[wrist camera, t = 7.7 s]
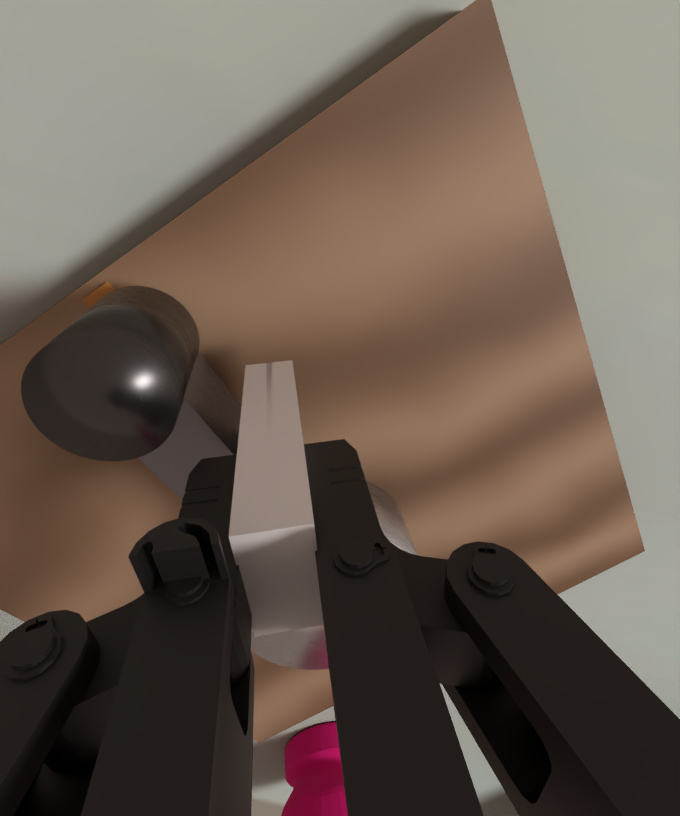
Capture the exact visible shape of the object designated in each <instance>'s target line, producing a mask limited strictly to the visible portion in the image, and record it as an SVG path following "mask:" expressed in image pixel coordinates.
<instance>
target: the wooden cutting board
mask: <svg viewBox="0 0 680 816" xmlns="http://www.w3.org/2000/svg"><path fill="white" fill-rule="evenodd" d="M127 286H145V287H151V288H154V289H158V290H160V291H163V292H165V293H167V294H169V295H170V296H172V297H173V298H175V299H176V300H178V301H179V302H180V303H181V304H182V305H183V306H184V307H185V308H186V309H187V310H188V311H189V313H190V314H191V316H192V317H193V319H194V321H195V323H196V326H197V328H198V332H199V338H200V346H199V352H200V353H201V355H202V356H203V357H204V358H205V360H206V361H207V362H208V363H209V365H210V366H211V367H212V369H213V370H214V371H215V372H216V374H217V375H218V376H219V377H220V379H221V380H222V381H223V382H224V384H225V385H226V386H227V387H228V389H229V390H230V391H231V392H232V394H233V395H234V396H235V398H236V399H237V400H238V401H239V403H240V404H241V405H242V397H243V387H244V377H245V367H246V365H253V364H262V363H271V362H280V361H289V360H292V361H293V368H294V376H295V383H296V391H297V398H298V406H299V413H300V421H301V428H302V436H303V443H304V444H309V443H317V442H324V441H332V440H340V439H345V440H346V441H347V442H348V443H349V444H350V445H351V446H352V447H353V448H355V449H356V450H357V453H358V457H359V460H360V463H361V468H362V469H363V473H364V476H365V480H366V481H368V482H370V483H372V484H375V485H377V486H379V487H380V488H382V489H383V490H384V491H386V492H387V493H388V494H389V495H390V496H391V497H392V498H393V499H394V500H395V502H396V503H397V505H398V507H399V509H400V510H401V513H402V515H403V518H404V520H405V523H406V525H407V528H408V530H409V533H410V535H411V538H412V540H413V542H414V545H415V547H416V550H417V552H418V555H419V556H424V557H432V558H440V559H449V557H450V555H451V553H452V552H453V551H454V550H456V549H457V548H459V547H460V546H462V545H463V544H467V543H472V542H477V541H479V542H488V543H495V544H497V545H500V546H502V547H505V548H507V549H509V550H511V551H512V552H514V553H515V554H516V555H517V556H519V557H520V558H521V559H523V560H524V561H525V562H526V563H527V564H528V565H529V566H530V567H531V568H532V569H533V570H534V571H535V572H536V573H537V574H538V575H539V576H540V577H541V579H542V580H543V581H544V582H545V583H546V584H547V585H548V586H549V587H550V588H551V589H552V590H553V591H554V592H555V593H556V594H559V593H561V592H563V591H565V590H567V589H569V588H571V587H573V586H575V585H577V584H579V583H581V582H583V581H585V580H587V579H589V578H591V577H593V576H595V575H597V574H599V573H601V572H603V571H605V570H607V569H609V568H611V567H613V566H615V565H617V564H619V563H621V562H624V561H626V560H628V559H630V558H632V557H634V556H636V555H638V554H640V553H642V552H644V551H645V550H644V547H643V543H642V539H641V536H640V532H639V529H638V525H637V521H636V518H635V514H634V511H633V507H632V504H631V500H630V496H629V493H628V489H627V486H626V482H625V478H624V475H623V471H622V468H621V464H620V461H619V457H618V453H617V450H616V446H615V443H614V439H613V435H612V432H611V428H610V425H609V421H608V417H607V414H606V410H605V407H604V403H603V400H602V396H601V392H600V389H599V385H598V382H597V378H596V374H595V371H594V367H593V364H592V360H591V357H590V353H589V349H588V346H587V342H586V339H585V335H584V331H583V328H582V324H581V321H580V317H579V314H578V310H577V306H576V303H575V299H574V296H573V292H572V288H571V285H570V281H569V278H568V274H567V271H566V267H565V263H564V260H563V256H562V253H561V249H560V245H559V242H558V238H557V235H556V231H555V228H554V224H553V220H552V217H551V213H550V210H549V206H548V202H547V199H546V195H545V192H544V188H543V185H542V181H541V177H540V174H539V170H538V167H537V163H536V159H535V156H534V152H533V149H532V145H531V142H530V138H529V134H528V131H527V127H526V124H525V120H524V116H523V113H522V109H521V106H520V102H519V98H518V95H517V91H516V88H515V84H514V81H513V77H512V73H511V70H510V66H509V63H508V59H507V55H506V52H505V48H504V45H503V41H502V38H501V34H500V30H499V27H498V23H497V20H496V16H495V12H494V9H493V5H492V2H491V0H476V1H474V2H473V3H472V4H470V5H469V6H468V7H466V8H465V9H463V10H462V11H461V12H459V13H458V14H456V15H455V16H454V17H452V18H451V19H450V20H448V21H447V22H445V23H444V24H443V25H441V26H440V27H439V28H437V29H436V30H434V31H433V32H432V33H430V34H429V35H427V36H426V37H425V38H423V39H422V40H421V41H419V42H418V43H416V44H415V45H414V46H412V47H411V48H409V49H408V50H407V51H405V52H404V53H403V54H401V55H400V56H398V57H397V58H396V59H394V60H393V61H392V62H390V63H389V64H387V65H386V66H385V67H383V68H382V69H380V70H379V71H378V72H376V73H375V74H374V75H372V76H371V77H369V78H368V79H367V80H365V81H364V82H363V83H361V84H360V85H358V86H357V87H356V88H354V89H353V90H351V91H350V92H349V93H347V94H346V95H345V96H343V97H342V98H340V99H339V100H338V101H336V102H335V103H334V104H332V105H331V106H329V107H328V108H327V109H325V110H324V111H322V112H321V113H320V114H318V115H317V116H316V117H314V118H313V119H311V120H310V121H309V122H307V123H306V124H304V125H303V126H302V127H300V128H299V129H298V130H296V131H295V132H293V133H292V134H291V135H289V136H288V137H287V138H285V139H284V140H282V141H281V142H280V143H278V144H277V145H275V146H274V147H273V148H271V149H270V150H269V151H267V152H266V153H264V154H263V155H262V156H260V157H259V158H258V159H256V160H255V161H253V162H252V163H251V164H249V165H248V166H246V167H245V168H244V169H242V170H241V171H240V172H238V173H237V174H235V175H234V176H233V177H231V178H230V179H229V180H227V181H226V182H224V183H223V184H222V185H220V186H219V187H217V188H216V189H215V190H213V191H212V192H211V193H209V194H208V195H206V196H205V197H204V198H202V199H201V200H199V201H198V202H197V203H195V204H194V205H193V206H191V207H190V208H188V209H187V210H186V211H184V212H183V213H182V214H180V215H179V216H177V217H176V218H175V219H173V220H172V221H170V222H169V223H168V224H166V225H165V226H164V227H162V228H161V229H159V230H158V231H157V232H155V233H154V234H153V235H151V236H150V237H148V238H147V239H146V240H144V241H143V242H141V243H140V244H139V245H137V246H136V247H135V248H133V249H132V250H130V251H129V252H128V253H126V254H125V255H124V256H122V257H121V258H119V259H118V260H117V261H115V262H114V263H112V264H111V265H110V266H108V267H107V268H106V269H104V270H103V271H101V272H100V273H99V274H97V275H96V276H94V277H93V278H92V279H90V280H89V281H88V282H86V283H85V284H83V285H82V286H81V287H79V288H78V289H77V290H75V291H74V292H72V293H71V294H70V295H68V296H67V297H65V298H64V299H63V300H61V301H60V302H59V303H57V304H56V305H54V306H53V307H52V308H50V309H49V310H48V311H46V312H45V313H43V314H42V315H41V316H39V317H38V318H36V319H35V320H34V321H32V322H31V323H30V324H28V325H27V326H25V327H24V328H23V329H21V330H20V331H19V332H17V333H16V334H14V335H13V336H12V337H10V338H9V339H7V340H6V341H5V342H3V343H2V344H1V345H0V609H1V610H3V611H5V612H7V613H9V614H11V615H13V616H14V617H16V618H18V619H20V620H22V621H24V622H26V621H28V620H29V619H32V618H34V617H37V616H39V615H42V614H44V613H46V612H50V611H58V610H69V611H72V612H76V613H79V614H80V615H81V616H82V618H83V619H84V620H85V622H87V621H90V620H92V619H94V618H97V617H99V616H101V615H103V614H106V613H108V612H110V611H113V610H115V609H117V608H120V607H122V606H124V605H126V604H128V603H130V602H132V601H133V600H135V599H137V598H138V597H140V596H141V595H142V594H144V591H143V589H142V586H141V584H140V582H139V580H138V578H137V575H136V573H135V571H134V569H133V566H132V564H131V562H130V560H129V558H128V556H129V554H130V552H131V551H132V549H133V547H134V545H135V544H136V542H137V541H138V540H140V539H141V538H142V537H143V536H144V535H145V534H146V533H147V532H148V531H150V530H152V529H153V528H155V527H157V526H159V525H161V524H163V523H164V522H168V521H171V520H175V519H178V517H179V513H180V509H181V508H182V499H181V498H180V497H179V496H178V495H177V494H176V493H175V492H174V491H173V490H172V489H171V488H170V487H168V486H167V485H166V484H165V483H164V482H163V481H162V480H161V479H160V478H159V477H158V476H157V475H156V474H155V473H154V472H153V471H152V470H151V469H150V468H149V467H147V466H146V465H145V464H144V463H143V462H142V461H141V460H140V459H139V458H135V459H131V460H126V461H99V460H93V459H88V458H85V457H81V456H78V455H76V454H73V453H71V452H69V451H66V450H64V449H62V448H61V447H59V446H58V445H56V444H54V443H53V442H52V441H50V440H49V439H48V438H46V437H45V436H44V435H43V434H42V433H41V432H40V431H39V430H38V429H37V427H36V426H35V425H34V424H33V422H32V421H31V419H30V418H29V416H28V414H27V412H26V410H25V408H24V405H23V401H22V396H21V381H22V376H23V373H24V371H25V368H26V366H27V365H28V363H29V362H30V360H31V359H32V358H33V357H34V356H35V355H36V354H37V353H38V352H39V351H40V350H41V349H42V348H43V347H45V346H46V345H47V344H48V343H49V342H51V341H52V340H53V339H54V338H55V337H56V336H58V335H59V334H60V333H61V332H62V331H63V330H65V329H66V328H67V327H68V326H69V325H71V324H72V323H73V322H74V321H75V320H76V319H78V318H79V317H80V316H81V315H82V314H83V313H85V312H86V311H87V310H88V309H89V308H91V307H92V306H93V305H94V304H95V303H96V302H98V301H99V300H100V299H101V298H102V297H104V296H105V295H106V294H108V293H109V292H111V291H113V290H116V289H118V288H122V287H127ZM251 653H252V657H253V662H254V668H255V675H254V716H253V740H255V741H257V742H261V741H263V740H265V739H267V738H269V737H271V736H274V735H276V734H278V733H280V732H282V731H284V730H286V729H288V728H290V727H292V726H294V725H296V724H298V723H300V722H302V721H304V720H306V719H308V718H310V717H312V716H314V715H316V714H318V713H320V712H322V711H324V710H326V709H328V708H330V707H332V706H334V704H333V696H332V688H331V680H330V674H329V669H324V670H304V669H295V668H289V667H285V666H280V665H278V664H275V663H272V662H270V661H268V660H265V659H263V658H262V657H260V656H259V655H257V654H256V653H255V652H254V651H252V650H251Z"/></svg>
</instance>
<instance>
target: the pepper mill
mask: <svg viewBox="0 0 680 816" xmlns="http://www.w3.org/2000/svg"><path fill="white" fill-rule="evenodd" d="M285 773H286V781H287V782H288V784H289V785H290V786H292V787H293V788H294V789H293V791H292V793H291V795H290V797H289V799H288V801H287V802H286V804H285V807H284V809H283V812H282V815H281V816H348V813H347V805H346V798H345V790H344V782H343V774H342V766H341V758H340V751H339V743H338V735H337V727H336V722H330V723H323V724H319V725H316V726H313V727H310V728H308V729H306V730H304V731H301V732H300V733H298V734H297V735H296V736H294V737H293V738H292V739H291V740H290V741H289V743H288V744H287V746H286V748H285Z"/></svg>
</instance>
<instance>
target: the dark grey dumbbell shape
mask: <svg viewBox="0 0 680 816" xmlns="http://www.w3.org/2000/svg"><path fill="white" fill-rule="evenodd" d="M199 346H200V338H199V332H198V328H197V326H196V323H195V321H194V319H193V317H192V316H191V314H190V313H189V311H188V310H187V309H186V308H185V307H184V306H183V305H182V304H181V303H180V302H179V301H178V300H176V299H175V298H173V297H172V296H170V295H169V294H167V293H165V292H163V291H160V290H158V289H154V288H151V287H145V286H127V287H122V288H118V289H116V290H113V291H111V292H109V293H108V294H106V295H105V296H104V297H102V298H101V299H100V300H99V301H98V302H96V303H95V304H94V305H93V306H92V307H91V308H89V309H88V310H87V311H86V312H85V313H83V314H82V315H81V316H80V317H79V318H78V319H76V320H75V321H74V322H73V323H72V324H71V325H69V326H68V327H67V328H66V329H65V330H63V331H62V332H61V333H60V334H59V335H58V336H56V337H55V338H54V339H53V340H52V341H51V342H49V343H48V344H47V345H46V346H45V347H43V348H42V349H41V350H40V351H39V352H38V353H37V354H36V355H35V356H34V357H33V358H32V359H31V360H30V362H29V363H28V365H27V366H26V368H25V371H24V373H23V376H22V381H21V396H22V401H23V405H24V408H25V410H26V412H27V414H28V416H29V418H30V419H31V421H32V422H33V424H34V425H35V426H36V427H37V429H38V430H39V431H40V432H41V433H42V434H43V435H44V436H45V437H46V438H48V439H49V440H50V441H52V442H53V443H54V444H56V445H58V446H59V447H61V448H62V449H64V450H66V451H69V452H71V453H73V454H76V455H78V456H81V457H85V458H88V459H93V460H99V461H126V460H131V459H135V458H139V459H140V460H141V461H142V462H143V463H144V464H145V465H146V466H147V467H149V468H150V469H151V470H152V471H153V472H154V473H155V474H156V475H157V476H158V477H159V478H160V479H161V480H162V481H163V482H164V483H165V484H166V485H167V486H168V487H170V488H171V489H172V490H173V491H174V492H175V493H176V494H177V495H178V496H179V497H180V498H181V499H182V500H183V496H184V494H185V488H186V484H187V480H188V476H189V473H190V472H191V471H192V470H193V469H194V467H195V466H196V465H197V464H198V462H199V461H200V460H201V459H204V458H212V457H220V456H228V455H235V454H237V447H238V437H239V427H240V417H241V407H242V405H241V404H240V403H239V401H238V400H237V399H236V398H235V396H234V395H233V394H232V392H231V391H230V390H229V389H228V387H227V386H226V385H225V384H224V382H223V381H222V380H221V379H220V377H219V376H218V375H217V374H216V372H215V371H214V370H213V369H212V367H211V366H210V365H209V363H208V362H207V361H206V360H205V358H204V357H203V356H202V355H201V353H200V352H199ZM366 482H367V485H368V489H369V492H370V495H371V498H372V501H373V505H374V508H375V511H376V514H377V517H378V521H379V524H380V527H381V529H382V531H383V533H384V535H385V536H386V537H387V539H388V540H389V541H390V542H391V543H392V544H394V545H395V546H397V547H398V548H399V549H401V550H404V551H406V552H408V553H410V554H415V555H418V552H417V550H416V547H415V545H414V542H413V540H412V538H411V535H410V533H409V530H408V528H407V525H406V523H405V520H404V518H403V515H402V513H401V510H400V509H399V507H398V505H397V503H396V502H395V500H394V499H393V498H392V497H391V496H390V495H389V494H388V493H387V492H386V491H384V490H383V489H382V488H380V487H379V486H377V485H375V484H372V483H370V482H368V481H366ZM251 650H252V651H254V652H255V653H256V654H257V655H259V656H260V657H262V658H263V659H265V660H268V661H270V662H272V663H275V664H278V665H280V666H285V667H289V668H295V669H304V670H324V669H329V665H328V657H327V648H326V640H325V632H324V625H320V626H314V627H308V628H302V629H297V630H292V631H286V632H280V633H275V634H269V635H263V636H257V637H255V635H254V632H253V628H252V631H251Z"/></svg>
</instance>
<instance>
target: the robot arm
mask: <svg viewBox="0 0 680 816" xmlns="http://www.w3.org/2000/svg"><path fill="white" fill-rule="evenodd" d="M128 558H129V560H130V562H131V564H132V566H133V569H134V571H135V573H136V575H137V578H138V580H139V582H140V584H141V586H142V589H143V591H144V594H142V595H141V596H140V597H138V598H137V599H135V600H133V601H132V602H130V603H128V604H126V605H124V606H122V607H120V608H117V609H115V610H113V611H110V612H108V613H106V614H103V615H101V616H99V617H97V618H94V619H92V620H90V621H87V622H85V620H84V619H83V618H82V616H81V615H80V614H79V613H76V612H72V611H69V610H58V611H50V612H46V613H44V614H42V615H39V616H37V617H34V618H32V619H29V620H28V621H26V622H25V623H23V624H22V625H20V626H19V627H17V628H16V629H14V630H13V631H11V632H10V633H9V634H8V635H7V636H6V637H5V638H4V639H3V640H2V641H1V642H0V816H251V799H252V757H253V716H254V675H255V668H254V662H253V657H252V653H251V631H252V628H253V632H254V635H255V637H257V636H263V635H269V634H275V633H280V632H286V631H292V630H297V629H302V628H308V627H314V626H320V625H324V632H325V640H326V648H327V657H328V665H329V674H330V680H331V688H332V696H333V704H334V711H335V719H336V727H337V735H338V743H339V751H340V758H341V766H342V774H343V782H344V790H345V798H346V805H347V813H348V816H483V813H482V810H481V807H480V804H479V801H478V798H477V795H476V792H475V789H474V786H473V783H472V780H471V777H470V774H469V771H468V768H467V765H466V762H465V759H464V756H463V753H462V750H461V747H460V744H459V741H458V738H457V735H456V732H455V729H454V726H453V723H452V720H451V717H450V714H449V711H448V708H447V705H446V702H445V699H444V696H443V693H442V690H441V687H440V684H439V683H442V685H443V686H444V688H445V690H446V692H447V693H448V695H449V697H450V698H451V700H452V702H453V703H454V705H455V707H456V709H457V710H458V712H459V714H460V715H461V717H462V719H463V720H464V722H465V724H466V726H467V727H468V729H469V731H470V732H471V734H472V736H473V737H474V739H475V741H476V743H477V744H478V746H479V748H480V749H481V751H482V753H483V754H484V756H485V758H486V760H487V761H488V763H489V765H490V766H491V768H492V770H493V771H494V773H495V775H496V777H497V778H498V780H499V782H500V783H501V785H502V787H503V788H504V790H505V792H506V794H507V795H508V797H509V799H510V800H511V802H512V804H513V805H514V807H515V809H516V811H517V812H518V814H519V816H680V719H679V718H678V717H677V716H676V715H675V714H674V713H673V712H672V711H671V710H670V709H669V708H668V707H667V706H666V705H665V704H664V703H663V702H662V701H661V700H660V699H659V698H658V697H657V696H656V695H655V694H654V693H653V692H652V691H651V690H650V689H649V688H648V687H647V686H646V685H645V684H644V683H643V681H642V680H641V679H640V678H639V677H638V676H637V675H636V674H635V673H634V672H633V671H632V670H631V669H630V668H629V667H628V666H627V665H626V664H625V663H624V662H623V661H622V660H621V659H620V658H619V657H618V656H617V655H616V654H615V653H614V652H613V651H612V650H611V649H610V648H609V647H608V646H607V645H606V644H605V643H604V642H603V641H602V640H601V639H600V638H599V637H598V636H597V635H596V634H595V633H594V632H593V631H592V629H591V628H590V627H589V626H588V625H587V624H586V623H585V622H584V621H583V620H582V619H581V618H580V617H579V616H578V615H577V614H576V613H575V612H574V611H573V610H572V609H571V608H570V607H569V606H568V605H567V604H566V603H565V602H564V601H563V600H562V599H561V598H560V597H559V596H558V595H557V594H556V593H555V592H554V591H553V590H552V589H551V588H550V587H549V586H548V585H547V584H546V583H545V582H544V581H543V580H542V579H541V577H540V576H539V575H538V574H537V573H536V572H535V571H534V570H533V569H532V568H531V567H530V566H529V565H528V564H527V563H526V562H525V561H524V560H523V559H521V558H520V557H519V556H517V555H516V554H515V553H514V552H512V551H511V550H509V549H507V548H505V547H502V546H500V545H497V544H495V543H488V542H479V541H477V542H472V543H467V544H463V545H462V546H460V547H459V548H457V549H456V550H454V551H453V552H452V553H451V555H450V557H449V559H440V558H432V557H424V556H419V555H415V554H410V553H408V552H406V551H404V550H401V549H399V548H398V547H397V546H395V545H394V544H392V543H391V542H390V541H389V540H388V539H387V537H386V536H385V535H384V533H383V531H382V529H381V527H380V524H379V521H378V517H377V514H376V511H375V508H374V505H373V501H372V498H371V495H370V492H369V489H368V485H367V482H366V480H365V476H364V473H363V469H362V468H361V463H360V460H359V457H358V453H357V450H356V449H355V448H353V447H352V446H351V445H350V444H349V443H348V442H347V441H346V440H345V439H340V440H332V441H324V442H317V443H309V444H304V443H303V436H302V428H301V421H300V413H299V406H298V398H297V391H296V383H295V376H294V368H293V361H292V360H289V361H280V362H271V363H262V364H253V365H246V367H245V377H244V387H243V397H242V407H241V417H240V427H239V437H238V447H237V454H235V455H228V456H220V457H212V458H204V459H201V460H200V461H199V462H198V464H197V465H196V466H195V467H194V469H193V470H192V471H191V472H190V473H189V476H188V480H187V484H186V488H185V494H184V496H183V500H182V508H181V509H180V513H179V517H178V519H175V520H171V521H168V522H164V523H163V524H161V525H159V526H157V527H155V528H153V529H152V530H150V531H148V532H147V533H146V534H145V535H144V536H143V537H142V538H141V539H140V540H138V541H137V542H136V544H135V545H134V547H133V549H132V551H131V552H130V554H129V556H128Z"/></svg>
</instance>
